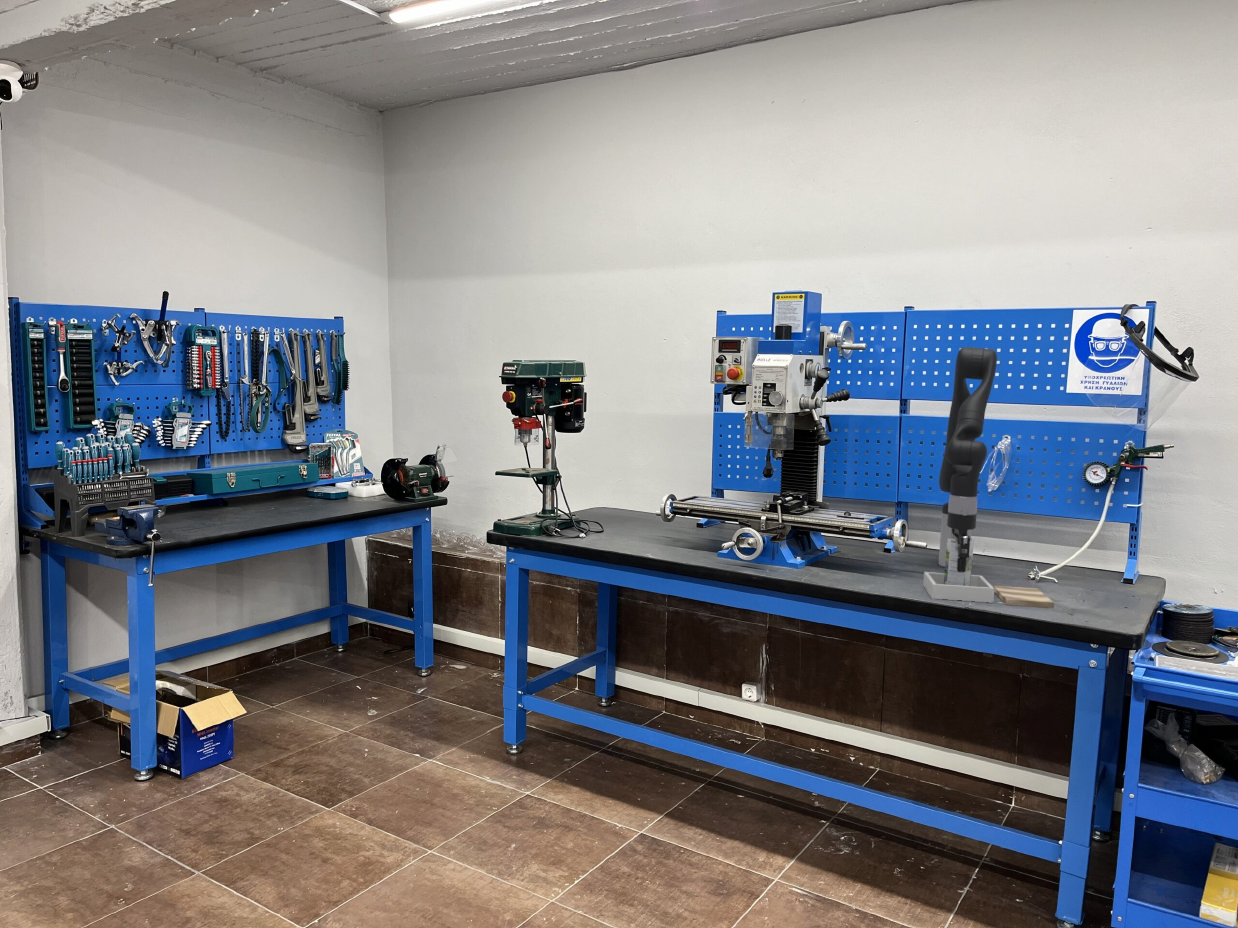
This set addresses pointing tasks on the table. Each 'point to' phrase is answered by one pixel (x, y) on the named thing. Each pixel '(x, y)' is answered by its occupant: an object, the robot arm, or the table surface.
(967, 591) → the parts tray
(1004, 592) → the board
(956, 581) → the syrup box
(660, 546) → the table surface
